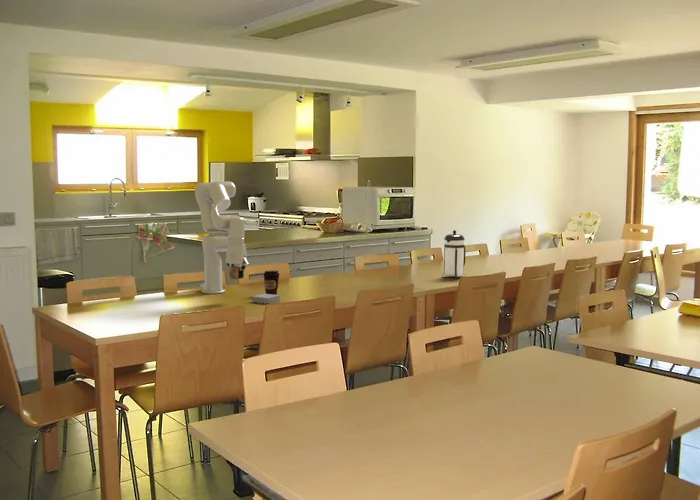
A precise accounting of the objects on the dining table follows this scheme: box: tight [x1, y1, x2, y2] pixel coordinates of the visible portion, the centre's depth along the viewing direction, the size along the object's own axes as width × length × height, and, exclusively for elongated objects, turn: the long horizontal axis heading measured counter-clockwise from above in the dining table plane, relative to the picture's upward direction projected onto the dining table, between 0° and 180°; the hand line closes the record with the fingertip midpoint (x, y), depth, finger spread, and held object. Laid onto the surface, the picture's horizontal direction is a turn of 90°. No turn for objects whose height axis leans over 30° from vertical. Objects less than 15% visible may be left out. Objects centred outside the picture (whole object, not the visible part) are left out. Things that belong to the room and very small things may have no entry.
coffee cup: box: [263, 269, 280, 295], centre depth 384 cm, size 9×8×13 cm
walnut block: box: [229, 264, 244, 280], centre depth 363 cm, size 5×5×6 cm
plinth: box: [251, 293, 281, 305], centre depth 364 cm, size 10×10×3 cm
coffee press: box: [441, 229, 466, 279], centre depth 455 cm, size 17×16×30 cm
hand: (236, 276), depth 363 cm, fingers closed on walnut block, 5 cm apart
